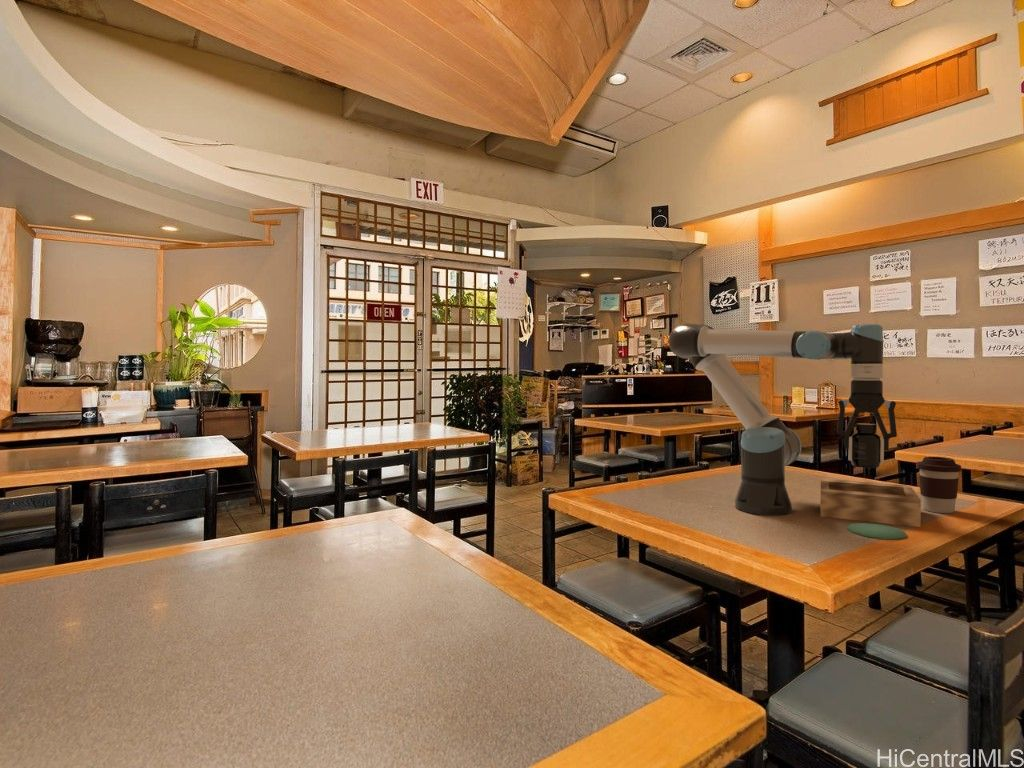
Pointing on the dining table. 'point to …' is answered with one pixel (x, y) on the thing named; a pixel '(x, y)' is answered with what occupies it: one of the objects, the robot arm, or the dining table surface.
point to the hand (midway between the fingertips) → (865, 460)
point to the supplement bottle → (866, 446)
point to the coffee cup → (938, 483)
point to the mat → (876, 531)
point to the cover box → (870, 502)
